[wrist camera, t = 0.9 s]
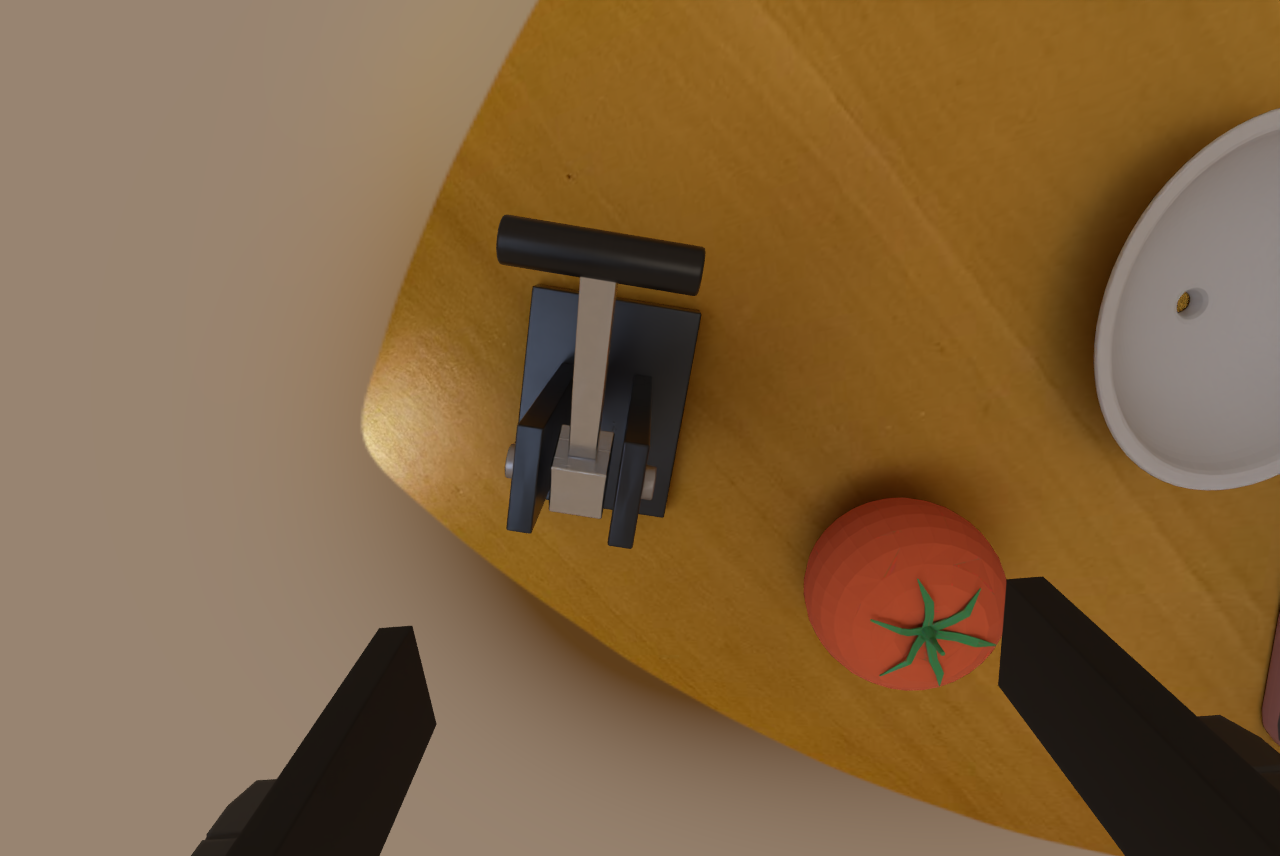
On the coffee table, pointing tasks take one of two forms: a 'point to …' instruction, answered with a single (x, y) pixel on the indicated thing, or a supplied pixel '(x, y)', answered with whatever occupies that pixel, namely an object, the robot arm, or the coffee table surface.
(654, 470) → the bracket
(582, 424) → the lever
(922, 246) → the coffee table surface
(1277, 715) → the toaster
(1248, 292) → the dish
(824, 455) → the coffee table surface
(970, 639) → the tomato
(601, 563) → the coffee table surface
